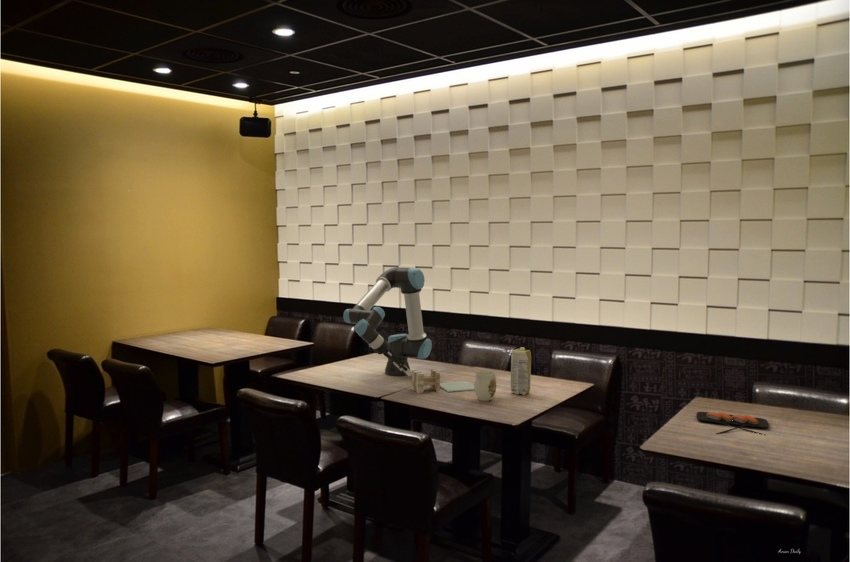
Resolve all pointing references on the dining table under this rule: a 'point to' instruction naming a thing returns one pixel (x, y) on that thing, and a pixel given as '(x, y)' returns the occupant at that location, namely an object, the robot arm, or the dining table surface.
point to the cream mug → (485, 385)
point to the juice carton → (520, 371)
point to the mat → (457, 386)
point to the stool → (425, 380)
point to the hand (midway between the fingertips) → (406, 371)
